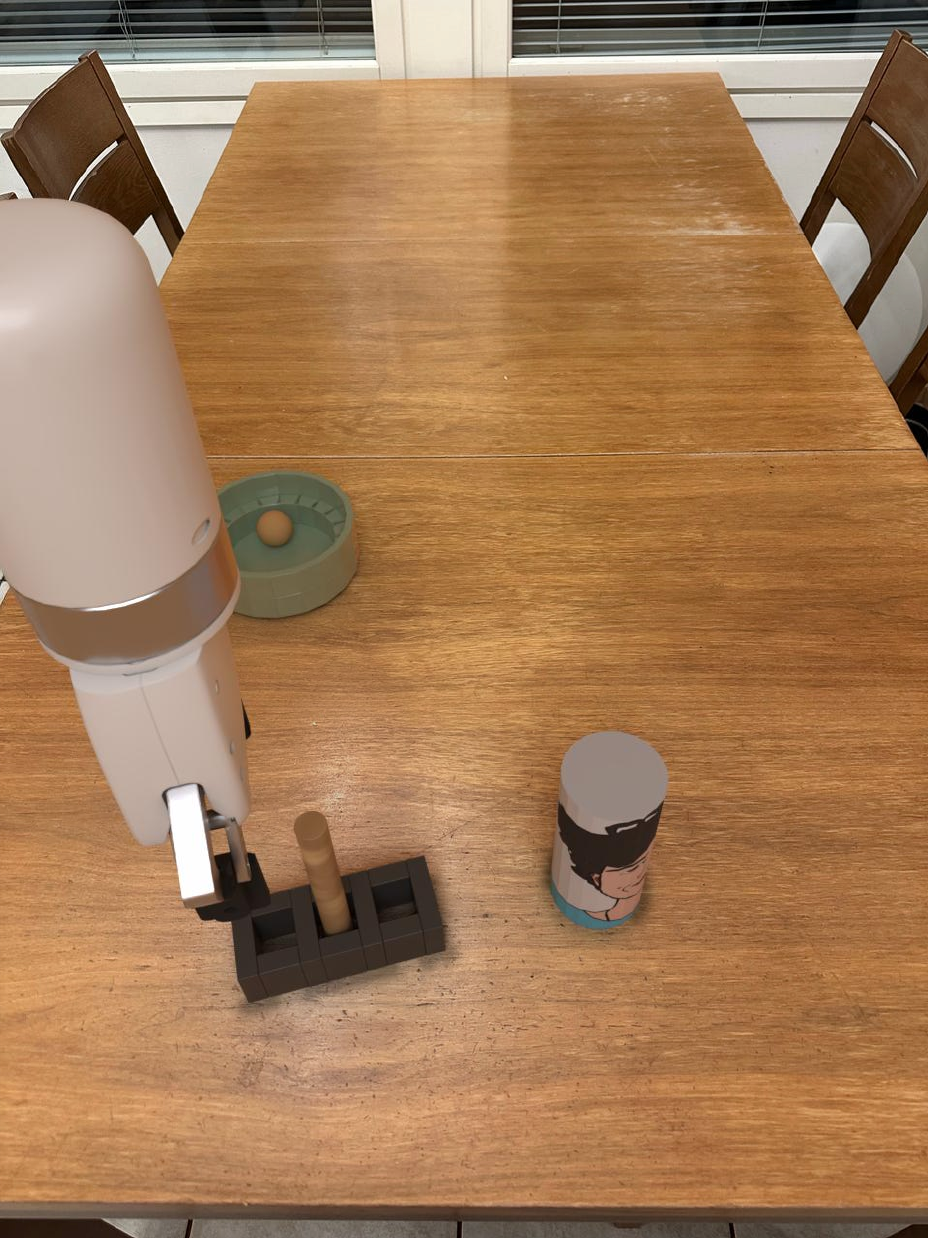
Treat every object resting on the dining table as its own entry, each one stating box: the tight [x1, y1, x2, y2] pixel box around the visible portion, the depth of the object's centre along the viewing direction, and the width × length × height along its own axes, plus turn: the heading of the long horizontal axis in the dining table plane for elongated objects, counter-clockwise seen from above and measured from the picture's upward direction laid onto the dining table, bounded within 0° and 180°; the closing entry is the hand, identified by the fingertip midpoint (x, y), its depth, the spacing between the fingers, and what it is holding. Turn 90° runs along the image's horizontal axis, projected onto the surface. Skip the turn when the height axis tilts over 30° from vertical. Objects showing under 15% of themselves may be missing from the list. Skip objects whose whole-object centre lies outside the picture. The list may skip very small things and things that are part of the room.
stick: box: [293, 810, 355, 938], centre depth 62 cm, size 2×2×16 cm
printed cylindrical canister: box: [549, 730, 670, 930], centre depth 65 cm, size 7×7×15 cm
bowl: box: [216, 469, 361, 619], centre depth 92 cm, size 15×15×6 cm
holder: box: [230, 854, 446, 1004], centre depth 67 cm, size 14×6×4 cm, turn 105°
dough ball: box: [256, 510, 293, 546], centre depth 95 cm, size 4×4×4 cm
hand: (228, 818), depth 47 cm, fingers open, 9 cm apart
